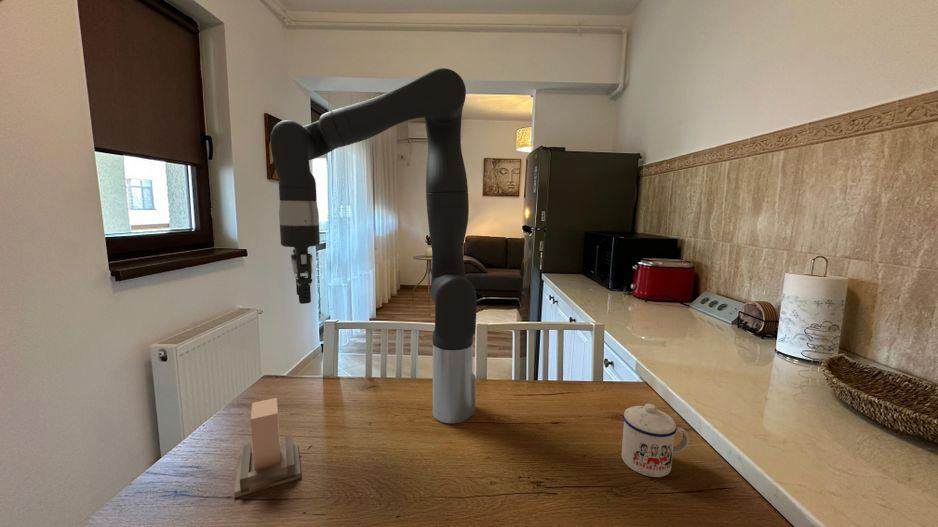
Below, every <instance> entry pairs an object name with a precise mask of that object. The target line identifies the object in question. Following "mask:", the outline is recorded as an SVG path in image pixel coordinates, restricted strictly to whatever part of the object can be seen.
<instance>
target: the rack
mask: <svg viewBox="0 0 938 527" xmlns="http://www.w3.org/2000/svg"><path fill="white" fill-rule="evenodd" d="M284 438H285V444H282V445H280V455H281V464H278V465H274V466H271V467H267V468H264V469H260V470H256V471H255V467H254V454H253V447H252V443H248V444H244V445H243V448H242V455H240V456H239V455H238V461H237V467H236V469H237V470H236V476H235V482H234V483H235V484H234V490H233V494H234V495H233V496H234V498H238V497H239V498H240V497H241V496H247V495H249V494H252V493H256V492H259V491H262V490H265V489H269V488H271V487H272V488H273V487H275V486H280V485H282V484H285V483H286V484H287V483H289V482H292V481H297V480H299V479H302V472H301V463H300V461H301V460H300V453H299V443H298V441H294V440H293V433H289V434H285V436H284Z"/></svg>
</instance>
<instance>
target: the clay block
mask: <svg viewBox="0 0 938 527" xmlns="http://www.w3.org/2000/svg"><path fill="white" fill-rule="evenodd" d="M250 412H251V413H250V414H251V415H250V426H251V440H252V453H253V454H254V467H255V471H256V470H260V469H264V468H267V467H271V466H274V465H278V464H281V455H280V446H281V443H280V442H281V440H280V426H279V424H280V423H279V413H278V398H277V397H275V398H269V399H265V400H259V401H255V402H252V403H251V411H250Z"/></svg>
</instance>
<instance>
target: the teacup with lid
mask: <svg viewBox="0 0 938 527" xmlns="http://www.w3.org/2000/svg"><path fill="white" fill-rule="evenodd" d="M622 418H623V430H622V432H623V433H622V444H621V458H622V461H623V462H624V463H625V465H626V466H627V467H628V468H629V469H631V470H633V471H634V472H636V473H637V474H640V475H643V476H647V477H652V478H662V477H665V476H667V475H669V474H670V473H671V470H672V463H673V456H674V455H673V454H678V453H682V452H683V451H684V450H685V449H686V448H687V446H688V444H689V441H690V436H689V434H688V433H687V431H686V430H685V429H684V428H683V427H682V428H681V427H677V425H676V421H675V420H674V419H673V418H672V416H670V415H669V414H667V413H666V412H664V411H662V410H660V409H658V408H657V406H656V405H654V404H652V403H645V404H644V405H635V406H631V407H630V406H629V407H628V408H626V409H625V411H624V412H623V415H622ZM675 434H681V435H682V440H681V442H680V443H679V444H677V445H676V446H674V443H675Z"/></svg>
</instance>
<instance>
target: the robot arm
mask: <svg viewBox="0 0 938 527" xmlns="http://www.w3.org/2000/svg"><path fill="white" fill-rule="evenodd" d="M466 91H467V89H466V85H465V82H464V79H463V78H462V77H461V75H460V74H459V73H458V72H456V71H454V70H452V69H450V68H445V67H443V68H441V67H439V68H437V69H433V70H431V71H429V72H427V73H426V74H423V75H421V76H419V77H418V78H416V79H413V80H412V81H410V82H408V83H407V84H404V85H402V86H400V87H398V88H395V89H393V90H390V91H388V92H386V93H384V94H380V95H377V96H375V97H372V98H369V99H366V100H363V101H359V102H357V103H353V104H349V105H346V106H342V107H340V108H336V109H333V110H330V111H327V112H325V113H323V114H321V115H320V116H319V119H318V120H316V121H314V122H311V123H309V124H306V125H302V124H300V123H298V122H296V121H294V120H289V119H285V120H281V121H279V122H277V123H276V124H275V125H274V126H273V128H272V129H271V133H270V149H271V156H272V159H273V163H274V168H275V171H276V174H277V177H278V196H279V209H278V217H279V234H280V236H279V237H280V246H282V247H285V248H287V247H288V248H293V249H292V253H293V254H290V262H291V266H292V268H291V269H292V272H293V275H294V278H295V285H296V289H295V290H296V295H297V296H298V301H299V304H300V305H305V304H311V301H312V297H311V296H312V294H311V286H312V282H313V279H312V275H313V265H312V264H313V255H312V253H309V247H317V246H319V245H320V243H321V238H320V236H321V235H320V218H319V216H320V215H319V214H320V212H319V208H318V202H317V201H318V200H317V182H316V179H315V178H316V177H314V175H313V174H312V172H311V168H310V167H311V166H310V161H311V160H315V159H318V158H320V157H322V156H324V155H327V154H328V153H330V152H332V151H334V150H335V149H338V148H343V147H346V146H349V145H353V144H356V143H360V142H362V141H366V140H368V139H370V138H373V137H375V136H377V135H379V134H381V133H383V132H385V131H387V130H388V129H391V128H393V127H395V126H397V125H399V124H402V123H404V122H408V121H411V120H414V119H420V118H424V124H425V130H426V139H427V140H426V141H427V160H426V168H425V169H426V170H425V171H426V172H425V197H426V198H425V199H426V201H425V202H426V214H427V223H428V230H429V231H428V232H429V239H430V245H431V277H430V278H431V279H430V296H431V299H432V300H431V301H432V302H433V304H434V330H433V332H432V416H433V417H434V419H436V420H437V421H438V422H441V423H445V424H460V423H463V422H465V421H467V420H469V419H470V418H471V417H472V416H474V415H475V414H476V391H477V390H476V382H477V380H476V378H477V377H476V374H474V373H473V360H474V359H473V356H474V354H473V352H474V351H473V350H474V336H475V333H476V327H477V309H478V308H477V307H478V305H477V303H478V301H477V299H478V298H477V292H476V291H477V290H476V288H475V286H474V285H473V283H472V282H471V281H470V280H469V279H468V278H467V275H466V272H465V271H466V270H465V262H464V245H465V238H466V234H467V231H468V230H467V229H468V222H469V217H470V216H469V212H470V208H469V206H470V205H469V186H468V176H467V172H466V171H467V170H466V166H465V162H464V158H463V157H464V156H463V152H462V144H461V142H462V140H461V138H462V136H461V135H462V133H461V132H462V116H463V109H464V105H465V102H466V97H467V96H466V95H467V92H466Z"/></svg>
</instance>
